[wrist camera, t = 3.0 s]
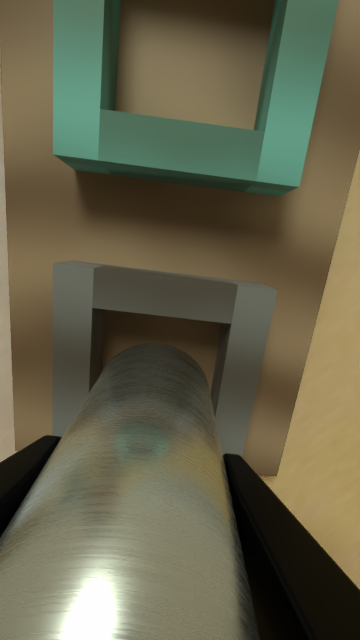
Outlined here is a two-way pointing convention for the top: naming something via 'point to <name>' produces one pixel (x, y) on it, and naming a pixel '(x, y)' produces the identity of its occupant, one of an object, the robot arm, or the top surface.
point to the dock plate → (174, 196)
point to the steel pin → (130, 518)
